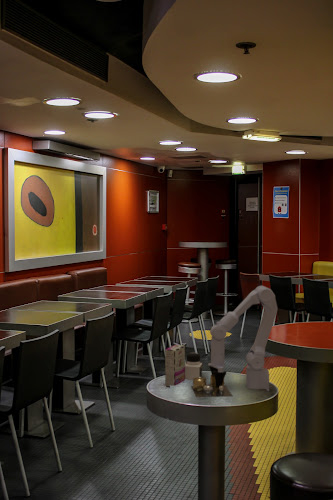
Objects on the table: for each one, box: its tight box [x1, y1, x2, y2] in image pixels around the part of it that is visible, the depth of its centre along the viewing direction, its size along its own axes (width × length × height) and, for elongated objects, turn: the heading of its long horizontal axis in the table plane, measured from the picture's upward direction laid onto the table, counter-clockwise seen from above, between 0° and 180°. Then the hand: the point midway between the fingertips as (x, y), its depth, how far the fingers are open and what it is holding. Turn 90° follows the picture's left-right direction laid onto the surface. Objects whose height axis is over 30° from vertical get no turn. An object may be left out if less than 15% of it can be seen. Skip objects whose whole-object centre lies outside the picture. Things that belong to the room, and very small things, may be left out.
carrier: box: [190, 376, 234, 398], centre depth 244 cm, size 15×16×6 cm
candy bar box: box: [164, 344, 186, 388], centre depth 257 cm, size 11×5×16 cm, turn 154°
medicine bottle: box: [185, 352, 203, 381], centre depth 265 cm, size 7×7×12 cm
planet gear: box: [209, 374, 225, 389], centre depth 250 cm, size 6×6×5 cm
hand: (217, 385), depth 250 cm, fingers open, 7 cm apart
